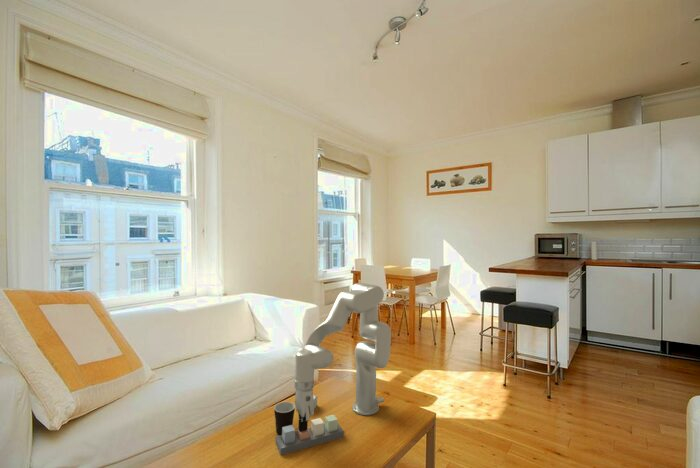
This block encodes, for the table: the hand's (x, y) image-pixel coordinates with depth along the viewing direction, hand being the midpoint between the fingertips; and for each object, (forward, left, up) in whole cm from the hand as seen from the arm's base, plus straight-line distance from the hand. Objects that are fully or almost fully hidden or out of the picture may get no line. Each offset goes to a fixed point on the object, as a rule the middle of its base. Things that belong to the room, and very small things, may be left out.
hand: (302, 429), depth 127 cm
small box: (-10, -24, -5) cm, 26 cm away
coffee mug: (+4, -12, -5) cm, 13 cm away
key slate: (+6, 0, -3) cm, 6 cm away
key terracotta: (0, 0, -5) cm, 5 cm away
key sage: (-12, 0, -3) cm, 12 cm away
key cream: (-6, 0, -3) cm, 7 cm away
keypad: (-3, 0, -5) cm, 6 cm away
